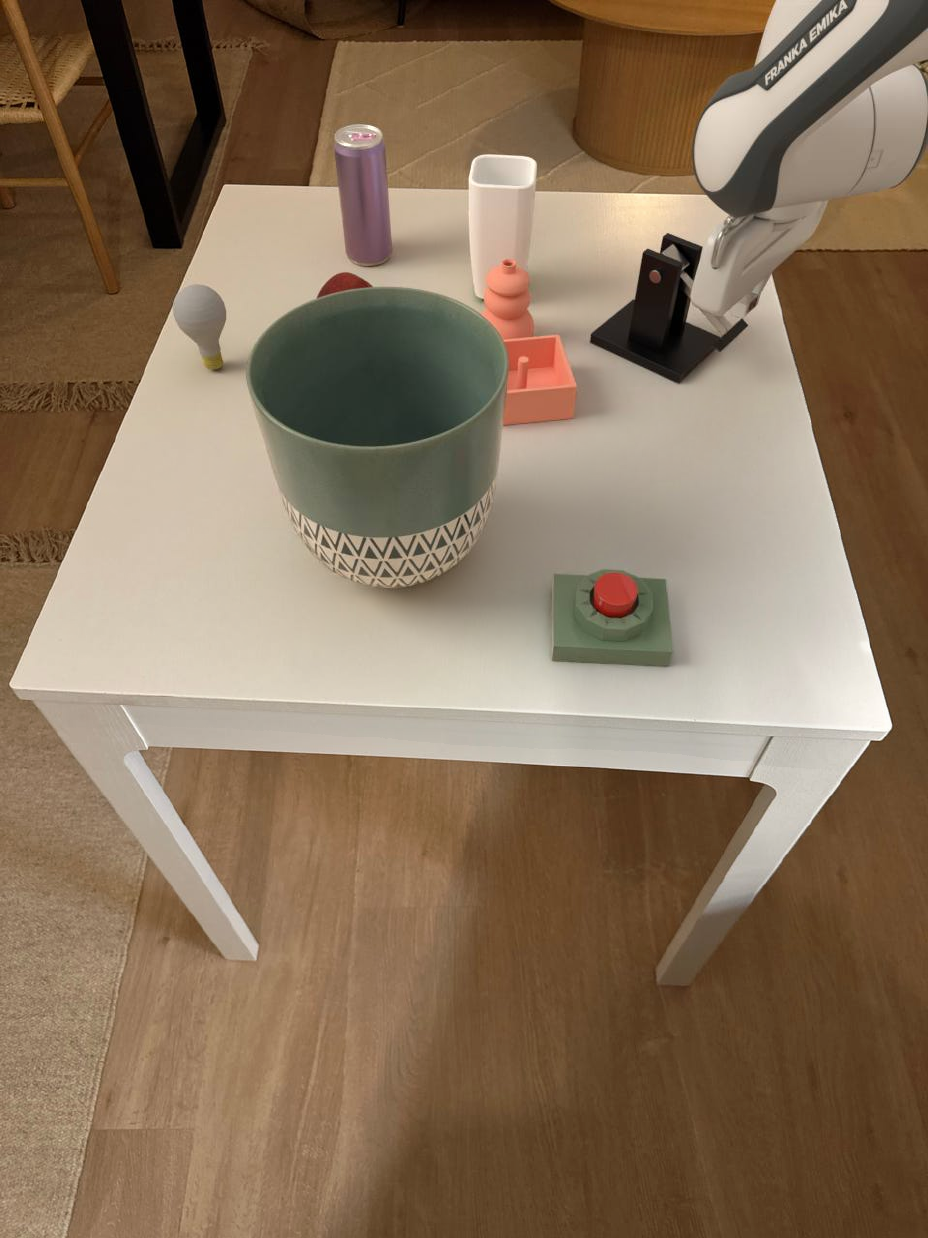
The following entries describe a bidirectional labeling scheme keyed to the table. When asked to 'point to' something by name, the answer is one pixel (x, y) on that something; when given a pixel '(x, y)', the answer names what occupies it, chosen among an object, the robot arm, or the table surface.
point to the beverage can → (363, 193)
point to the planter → (383, 428)
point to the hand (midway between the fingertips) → (742, 310)
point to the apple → (343, 284)
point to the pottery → (528, 352)
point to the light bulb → (202, 320)
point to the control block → (610, 623)
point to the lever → (718, 321)
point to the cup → (500, 213)
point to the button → (615, 594)
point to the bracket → (659, 317)
